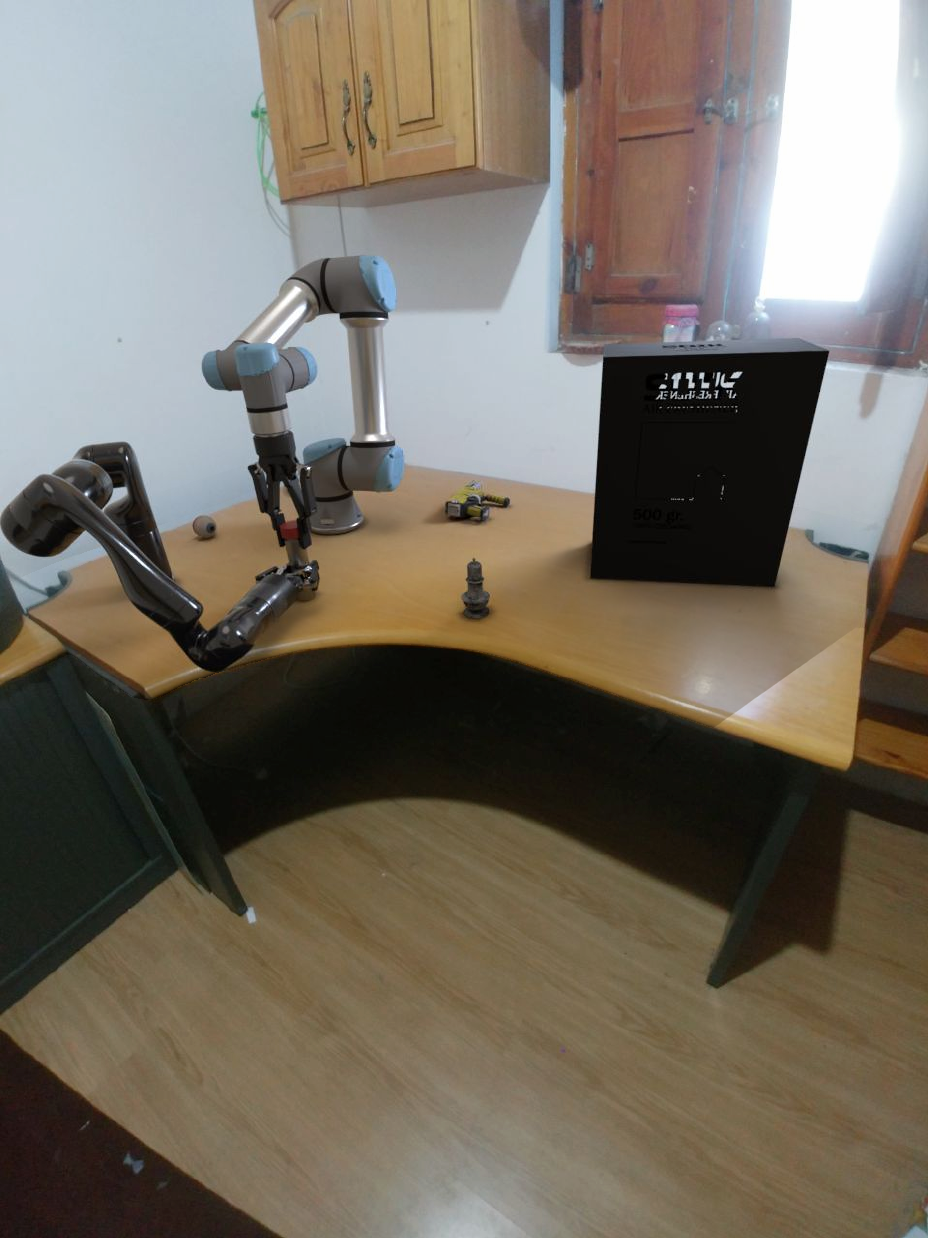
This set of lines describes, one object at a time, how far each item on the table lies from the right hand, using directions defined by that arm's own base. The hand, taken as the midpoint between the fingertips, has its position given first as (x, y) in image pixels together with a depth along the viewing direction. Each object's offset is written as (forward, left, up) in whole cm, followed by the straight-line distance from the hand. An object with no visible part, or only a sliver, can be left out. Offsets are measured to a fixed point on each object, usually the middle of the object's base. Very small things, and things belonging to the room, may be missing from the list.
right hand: (295, 545), depth 126 cm
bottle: (0, 0, -12) cm, 12 cm away
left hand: (-2, +2, -5) cm, 6 cm away
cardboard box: (+43, +72, -12) cm, 84 cm away
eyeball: (-52, -6, -12) cm, 54 cm away
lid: (0, 0, +4) cm, 4 cm away
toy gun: (-17, +63, -12) cm, 66 cm away
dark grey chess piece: (+31, +24, -12) cm, 41 cm away
